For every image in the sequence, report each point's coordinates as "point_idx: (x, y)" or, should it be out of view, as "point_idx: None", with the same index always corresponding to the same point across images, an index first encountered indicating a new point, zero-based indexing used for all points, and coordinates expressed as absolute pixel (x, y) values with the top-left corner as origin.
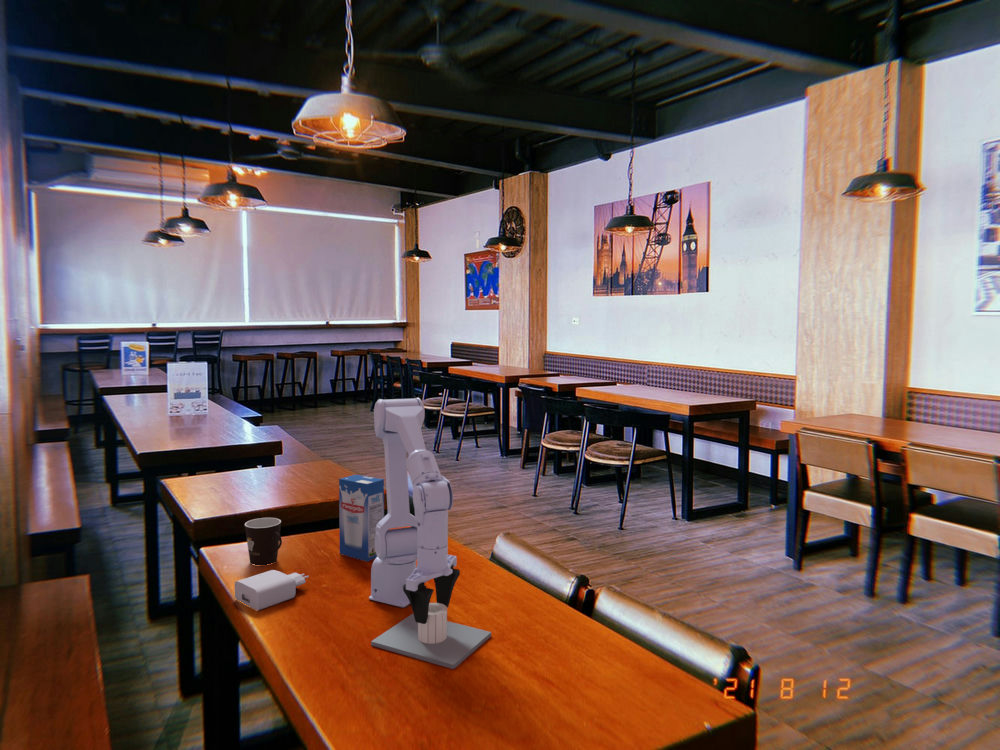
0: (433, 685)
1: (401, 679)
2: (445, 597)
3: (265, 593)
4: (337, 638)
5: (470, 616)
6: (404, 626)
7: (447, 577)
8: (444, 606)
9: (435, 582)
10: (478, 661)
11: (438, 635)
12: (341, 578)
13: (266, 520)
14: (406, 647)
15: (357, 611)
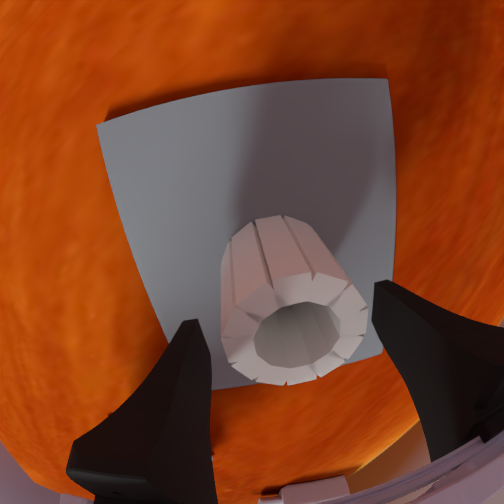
0: (458, 91)
1: (471, 180)
2: (194, 363)
3: (338, 494)
4: (374, 397)
5: (64, 280)
6: None
7: (181, 468)
8: (238, 318)
9: (210, 458)
10: (288, 35)
11: (306, 230)
12: None
13: None
14: (375, 275)
15: (263, 444)
